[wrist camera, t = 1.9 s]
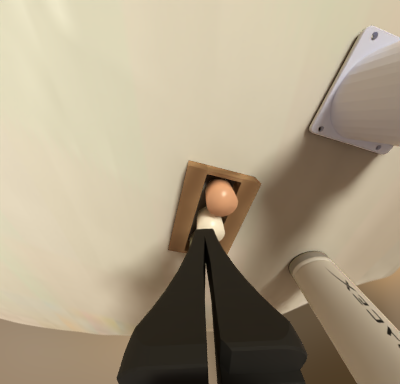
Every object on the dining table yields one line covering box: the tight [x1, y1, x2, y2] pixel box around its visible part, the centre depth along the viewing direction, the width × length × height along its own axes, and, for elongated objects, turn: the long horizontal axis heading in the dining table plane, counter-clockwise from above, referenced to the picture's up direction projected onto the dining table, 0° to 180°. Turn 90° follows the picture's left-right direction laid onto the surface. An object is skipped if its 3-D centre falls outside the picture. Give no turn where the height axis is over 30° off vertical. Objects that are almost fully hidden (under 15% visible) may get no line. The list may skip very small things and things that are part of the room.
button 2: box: [205, 178, 238, 217], centre depth 15 cm, size 3×3×3 cm
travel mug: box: [289, 251, 400, 384], centre depth 15 cm, size 6×7×20 cm
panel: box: [168, 160, 261, 254], centre depth 19 cm, size 8×12×2 cm, turn 165°
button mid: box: [197, 207, 225, 241], centre depth 17 cm, size 3×3×3 cm
